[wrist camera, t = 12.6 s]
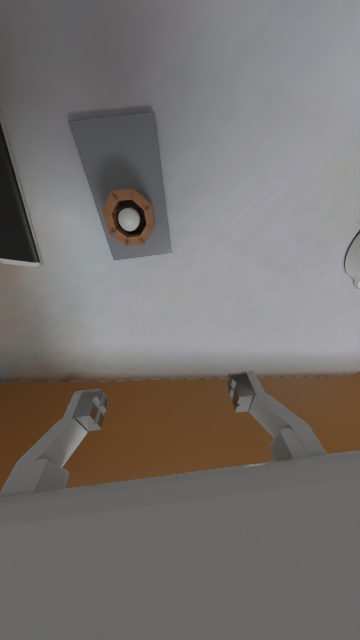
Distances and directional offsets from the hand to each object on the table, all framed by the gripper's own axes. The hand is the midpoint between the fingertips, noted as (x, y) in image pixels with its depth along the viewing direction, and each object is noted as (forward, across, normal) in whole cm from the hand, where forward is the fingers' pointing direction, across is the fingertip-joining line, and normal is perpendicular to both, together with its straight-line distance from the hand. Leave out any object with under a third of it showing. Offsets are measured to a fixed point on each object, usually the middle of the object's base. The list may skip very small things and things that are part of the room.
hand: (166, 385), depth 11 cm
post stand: (+25, +4, -10) cm, 27 cm away
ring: (+24, +4, -8) cm, 25 cm away
